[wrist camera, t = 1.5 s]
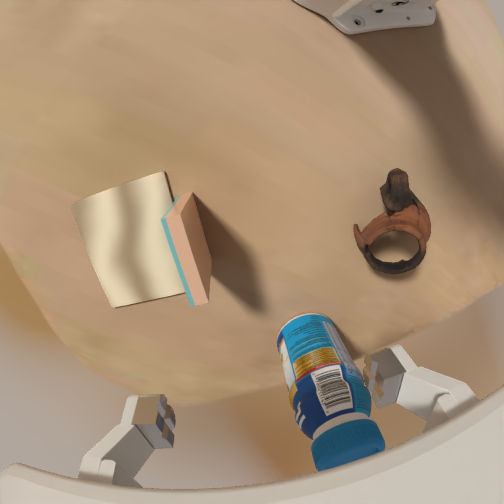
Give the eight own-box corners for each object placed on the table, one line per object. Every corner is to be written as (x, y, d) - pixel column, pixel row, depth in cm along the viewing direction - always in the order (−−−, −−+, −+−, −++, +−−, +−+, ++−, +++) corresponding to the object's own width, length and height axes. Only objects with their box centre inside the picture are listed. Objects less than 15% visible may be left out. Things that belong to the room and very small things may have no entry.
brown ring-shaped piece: (422, 231, 35) (432, 276, 29) (357, 236, 39) (357, 282, 33) (421, 150, 27) (440, 187, 22) (343, 158, 31) (343, 196, 26)
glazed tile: (192, 191, 30) (180, 213, 21) (211, 260, 33) (208, 302, 25) (178, 195, 30) (160, 219, 21) (198, 263, 33) (190, 306, 25)
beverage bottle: (346, 320, 38) (411, 436, 20) (313, 363, 41) (354, 478, 22) (295, 301, 36) (349, 436, 18) (263, 349, 38) (289, 480, 20)
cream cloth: (164, 170, 29) (163, 171, 28) (200, 287, 34) (199, 289, 34) (71, 203, 29) (70, 204, 28) (113, 306, 34) (112, 307, 34)
